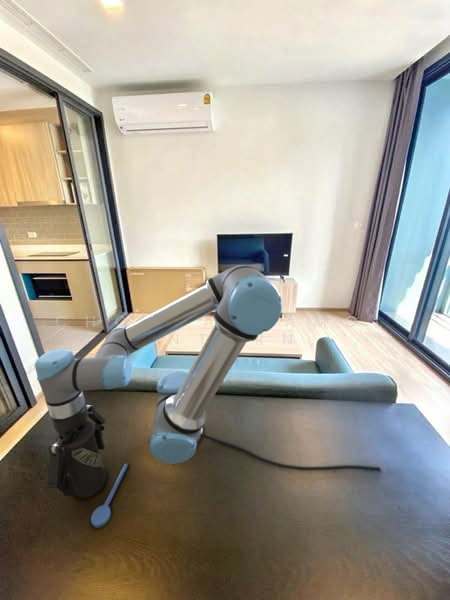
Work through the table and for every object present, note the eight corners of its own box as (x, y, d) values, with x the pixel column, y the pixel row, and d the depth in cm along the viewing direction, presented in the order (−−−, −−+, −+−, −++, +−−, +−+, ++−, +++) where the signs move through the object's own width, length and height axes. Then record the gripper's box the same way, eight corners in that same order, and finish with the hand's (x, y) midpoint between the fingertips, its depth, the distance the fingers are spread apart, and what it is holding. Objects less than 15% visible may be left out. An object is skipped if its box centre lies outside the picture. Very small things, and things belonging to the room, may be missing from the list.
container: (93, 503, 66) (77, 448, 59) (64, 495, 68) (45, 442, 61) (113, 471, 74) (101, 419, 67) (87, 465, 76) (72, 414, 69)
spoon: (120, 464, 76) (119, 461, 76) (134, 466, 76) (133, 463, 75) (87, 526, 61) (86, 523, 61) (104, 528, 61) (103, 525, 60)
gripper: (85, 376, 73) (99, 431, 81) (9, 452, 51) (37, 519, 58) (109, 378, 73) (121, 433, 80) (42, 456, 50) (67, 523, 57)
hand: (86, 469), depth 69 cm, fingers open, 12 cm apart
